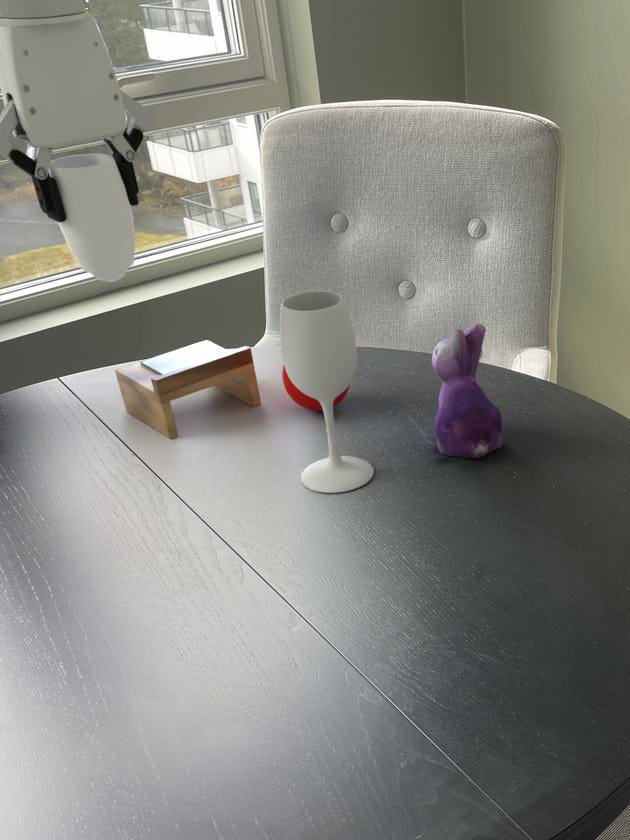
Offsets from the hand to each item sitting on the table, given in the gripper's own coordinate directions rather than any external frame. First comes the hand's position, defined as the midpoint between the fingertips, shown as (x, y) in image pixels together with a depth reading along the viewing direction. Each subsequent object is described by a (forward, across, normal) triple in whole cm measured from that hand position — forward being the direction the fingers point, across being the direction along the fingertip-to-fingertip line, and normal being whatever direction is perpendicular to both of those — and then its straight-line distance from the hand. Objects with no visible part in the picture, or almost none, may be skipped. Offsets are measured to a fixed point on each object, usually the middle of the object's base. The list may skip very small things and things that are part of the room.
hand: (93, 209), depth 98 cm
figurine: (+30, -31, +20) cm, 48 cm away
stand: (+31, -13, -15) cm, 36 cm away
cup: (+16, 0, 0) cm, 16 cm away
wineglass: (+31, -15, +15) cm, 37 cm away
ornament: (+31, -25, -2) cm, 40 cm away
